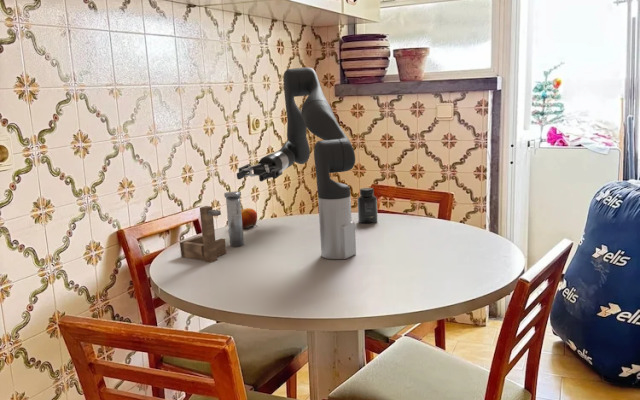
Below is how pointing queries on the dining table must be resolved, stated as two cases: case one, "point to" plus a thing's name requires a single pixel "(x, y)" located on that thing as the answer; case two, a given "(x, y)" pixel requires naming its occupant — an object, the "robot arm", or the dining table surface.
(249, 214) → the fruit
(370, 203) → the supplement bottle
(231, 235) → the pin
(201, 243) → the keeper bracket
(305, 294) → the dining table surface
